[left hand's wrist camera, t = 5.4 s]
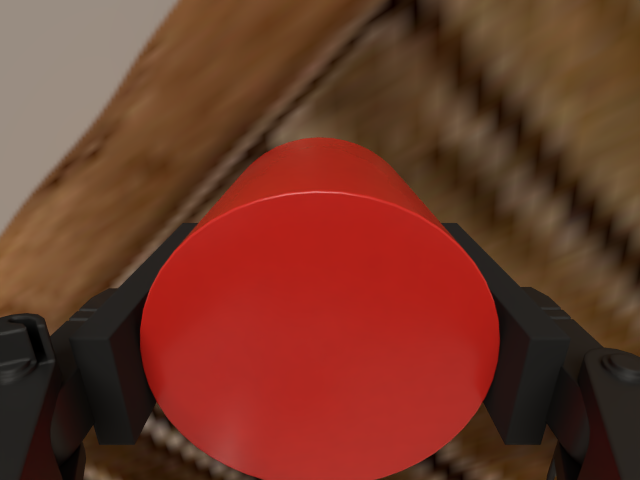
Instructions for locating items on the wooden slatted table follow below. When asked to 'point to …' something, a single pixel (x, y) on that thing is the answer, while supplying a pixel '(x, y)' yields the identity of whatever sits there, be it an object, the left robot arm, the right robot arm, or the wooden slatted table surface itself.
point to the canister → (319, 322)
